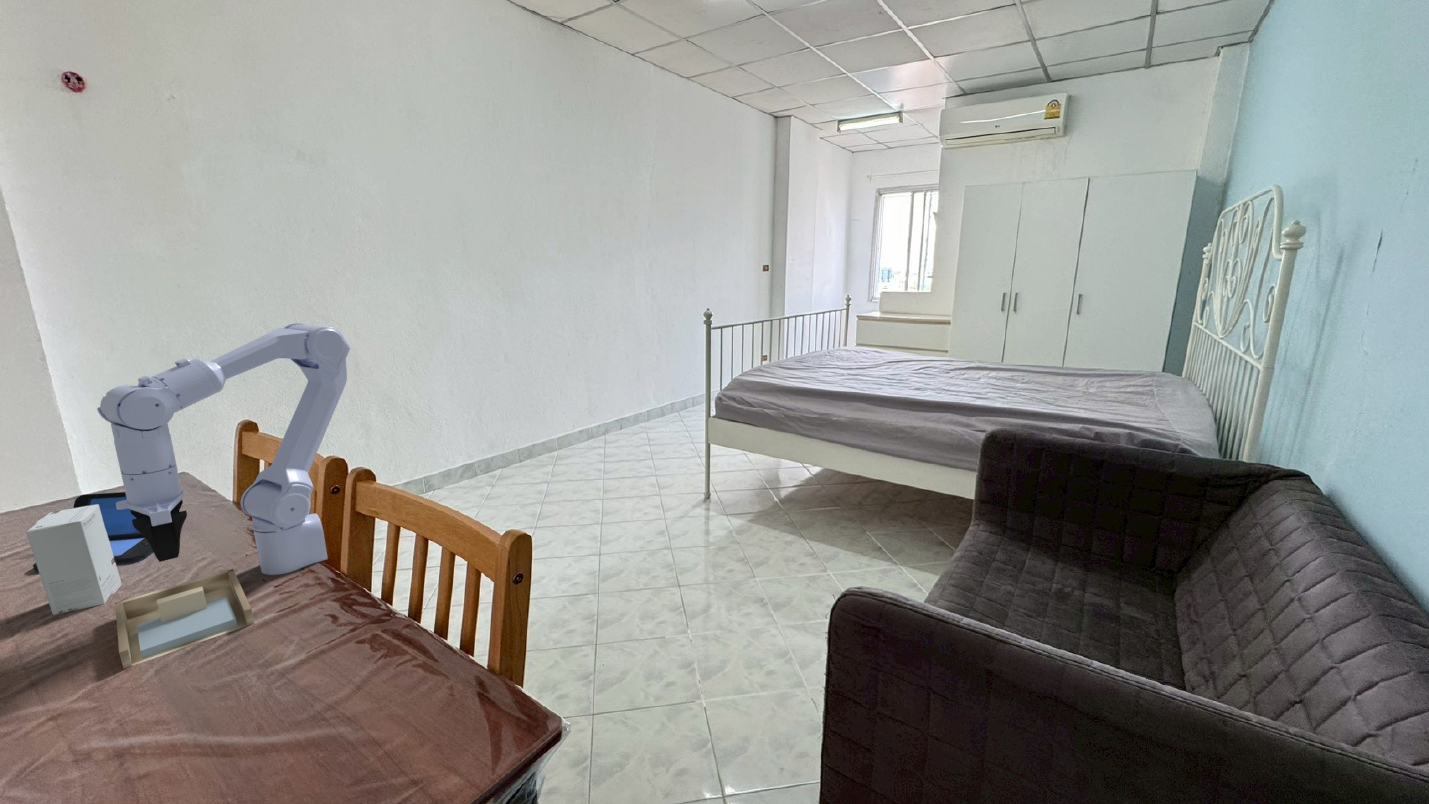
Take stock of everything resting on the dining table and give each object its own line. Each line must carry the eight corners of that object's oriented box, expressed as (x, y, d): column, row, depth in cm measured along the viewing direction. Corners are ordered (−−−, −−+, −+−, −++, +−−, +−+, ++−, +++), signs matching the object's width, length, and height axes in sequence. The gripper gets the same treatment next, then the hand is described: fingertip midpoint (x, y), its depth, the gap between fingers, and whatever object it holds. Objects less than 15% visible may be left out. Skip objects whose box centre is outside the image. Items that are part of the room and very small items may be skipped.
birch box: (236, 587, 94) (233, 568, 93) (255, 628, 84) (251, 608, 83) (120, 623, 85) (114, 602, 84) (125, 675, 74) (119, 652, 73)
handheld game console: (29, 574, 97) (14, 525, 95) (87, 539, 109) (75, 494, 107) (142, 563, 101) (131, 516, 99) (186, 530, 114) (176, 487, 112)
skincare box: (107, 609, 88) (83, 521, 84) (50, 621, 85) (23, 531, 81) (123, 583, 95) (101, 501, 91) (70, 594, 91) (46, 509, 88)
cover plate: (228, 603, 88) (223, 579, 87) (237, 625, 83) (232, 600, 82) (138, 631, 81) (132, 606, 80) (142, 658, 76) (135, 631, 75)
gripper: (107, 461, 83) (126, 545, 86) (110, 489, 74) (132, 582, 77) (173, 451, 88) (189, 531, 91) (183, 476, 79) (201, 564, 82)
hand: (167, 553), depth 84 cm, fingers open, 4 cm apart
